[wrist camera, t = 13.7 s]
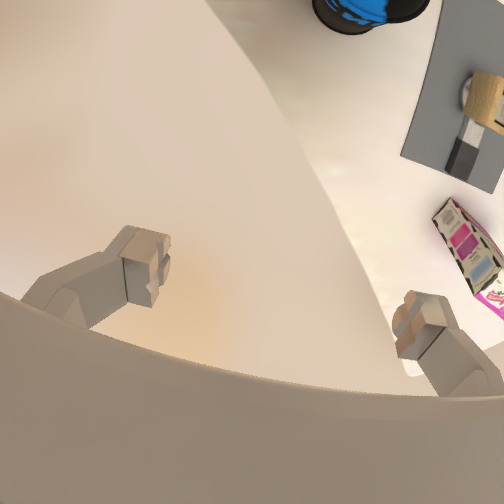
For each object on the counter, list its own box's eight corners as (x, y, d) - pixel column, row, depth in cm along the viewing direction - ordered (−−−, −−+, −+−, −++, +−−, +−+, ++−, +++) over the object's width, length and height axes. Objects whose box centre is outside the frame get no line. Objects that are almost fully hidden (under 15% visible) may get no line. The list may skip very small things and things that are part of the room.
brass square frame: (474, 70, 25) (500, 76, 20) (508, 92, 25) (535, 102, 20) (462, 113, 29) (486, 125, 24) (495, 132, 29) (520, 147, 24)
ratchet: (465, 65, 27) (486, 69, 22) (503, 88, 26) (525, 95, 22) (433, 164, 35) (448, 180, 31) (470, 181, 35) (487, 197, 31)
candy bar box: (429, 220, 41) (472, 297, 28) (450, 195, 38) (503, 266, 25) (469, 254, 43) (509, 327, 29) (488, 232, 40) (535, 302, 27)
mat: (447, -29, 19) (448, -29, 19) (539, 34, 19) (540, 34, 19) (400, 155, 36) (401, 156, 36) (490, 193, 36) (491, 194, 36)
